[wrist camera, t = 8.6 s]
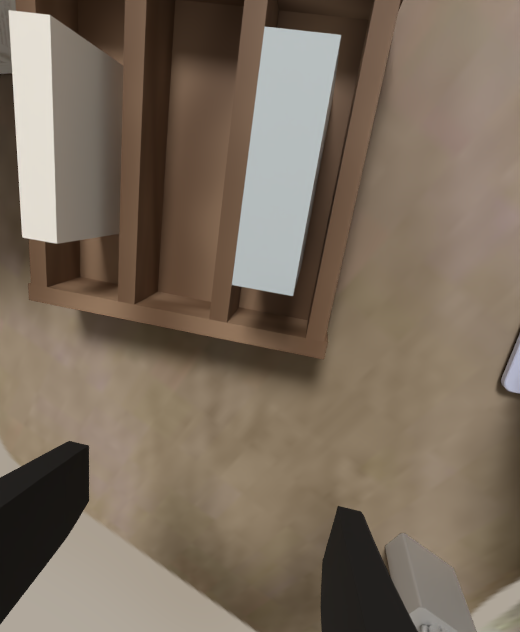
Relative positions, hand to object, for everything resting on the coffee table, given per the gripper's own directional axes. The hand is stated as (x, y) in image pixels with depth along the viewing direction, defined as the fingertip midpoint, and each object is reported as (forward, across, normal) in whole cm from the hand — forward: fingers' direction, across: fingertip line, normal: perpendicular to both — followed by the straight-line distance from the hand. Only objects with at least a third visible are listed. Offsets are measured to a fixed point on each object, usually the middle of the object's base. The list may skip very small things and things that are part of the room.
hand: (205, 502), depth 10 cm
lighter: (+11, -13, +12) cm, 21 cm away
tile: (+9, +8, -9) cm, 15 cm away
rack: (+10, +4, -9) cm, 14 cm away
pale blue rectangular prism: (+9, 0, -9) cm, 13 cm away
